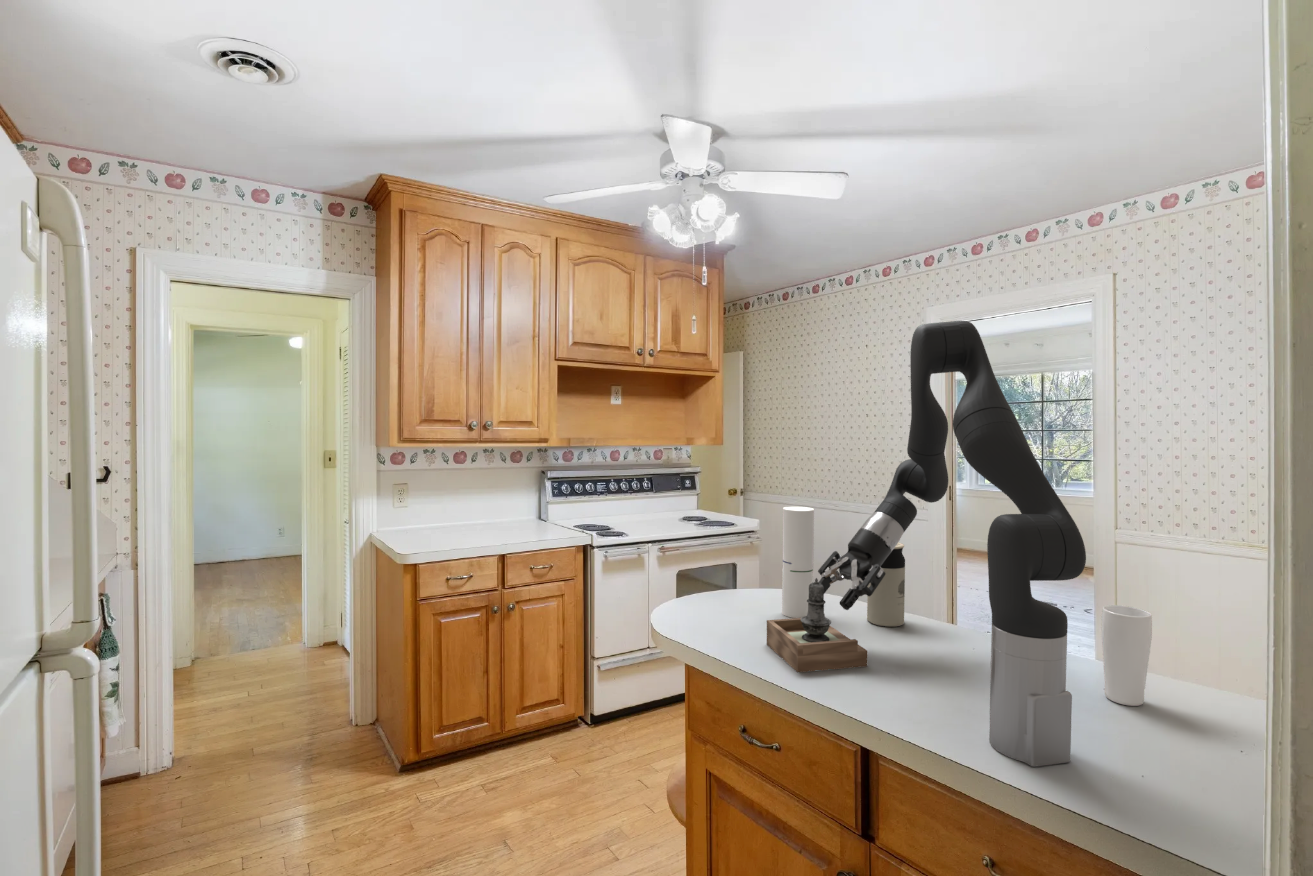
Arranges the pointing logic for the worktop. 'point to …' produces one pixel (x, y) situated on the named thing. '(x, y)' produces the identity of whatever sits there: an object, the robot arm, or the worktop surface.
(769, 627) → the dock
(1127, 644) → the drinking glass
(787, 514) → the cylindrical container
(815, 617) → the salt shaker
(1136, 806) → the worktop surface
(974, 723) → the worktop surface
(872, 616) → the travel mug
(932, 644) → the worktop surface
